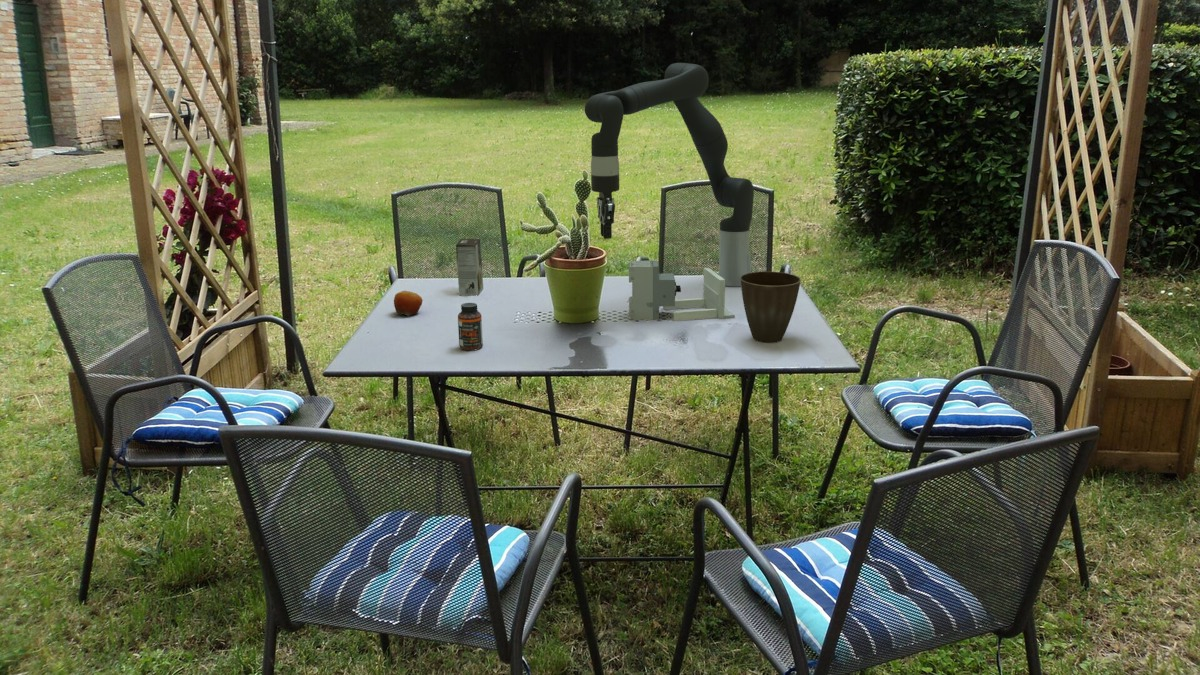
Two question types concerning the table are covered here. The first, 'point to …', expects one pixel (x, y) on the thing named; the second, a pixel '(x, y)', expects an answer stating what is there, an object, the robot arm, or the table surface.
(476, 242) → the coffee box
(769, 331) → the plant pot
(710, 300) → the rail bracket
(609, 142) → the robot arm
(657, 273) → the circuit breaker
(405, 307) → the fruit
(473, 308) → the supplement bottle
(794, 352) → the table surface
